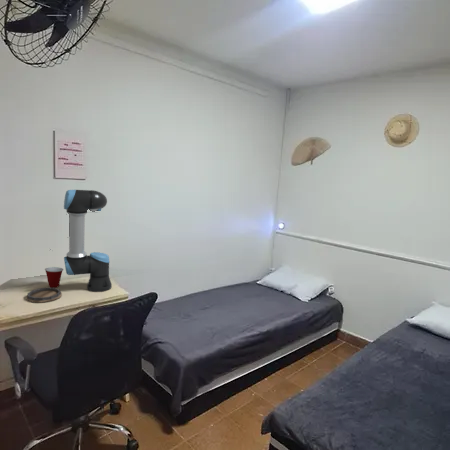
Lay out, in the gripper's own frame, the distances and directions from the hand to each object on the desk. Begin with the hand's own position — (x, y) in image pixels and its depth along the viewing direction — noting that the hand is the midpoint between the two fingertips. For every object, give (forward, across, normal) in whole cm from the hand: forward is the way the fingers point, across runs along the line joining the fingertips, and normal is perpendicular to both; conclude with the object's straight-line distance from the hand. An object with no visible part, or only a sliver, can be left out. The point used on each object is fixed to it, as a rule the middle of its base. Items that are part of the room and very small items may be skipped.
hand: (61, 251), depth 223 cm
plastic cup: (+22, 0, -7) cm, 24 cm away
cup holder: (+35, -1, +6) cm, 36 cm away
